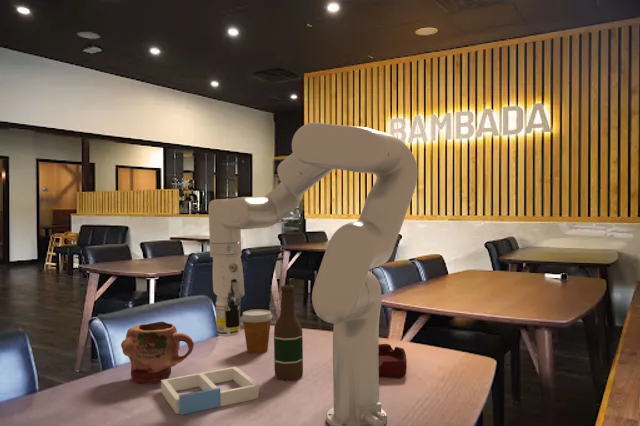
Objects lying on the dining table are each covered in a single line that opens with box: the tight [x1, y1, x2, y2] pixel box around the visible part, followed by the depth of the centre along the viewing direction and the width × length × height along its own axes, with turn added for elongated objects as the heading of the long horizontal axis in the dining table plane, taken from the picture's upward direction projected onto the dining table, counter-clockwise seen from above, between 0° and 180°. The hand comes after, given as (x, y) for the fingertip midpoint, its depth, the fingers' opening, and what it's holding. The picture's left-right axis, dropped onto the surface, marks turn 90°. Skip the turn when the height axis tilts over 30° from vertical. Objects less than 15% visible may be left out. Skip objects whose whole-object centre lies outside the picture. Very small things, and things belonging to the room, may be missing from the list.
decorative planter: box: [120, 321, 195, 385], centre depth 133 cm, size 20×12×14 cm, turn 86°
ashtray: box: [378, 343, 408, 379], centre depth 136 cm, size 18×16×5 cm
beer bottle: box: [273, 284, 304, 382], centre depth 133 cm, size 8×8×24 cm
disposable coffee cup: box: [241, 309, 273, 355], centre depth 157 cm, size 10×10×12 cm
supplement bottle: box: [215, 295, 241, 338], centre depth 122 cm, size 6×6×10 cm
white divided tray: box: [160, 366, 259, 416], centre depth 121 cm, size 16×19×4 cm
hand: (228, 323), depth 122 cm, fingers closed on supplement bottle, 5 cm apart
